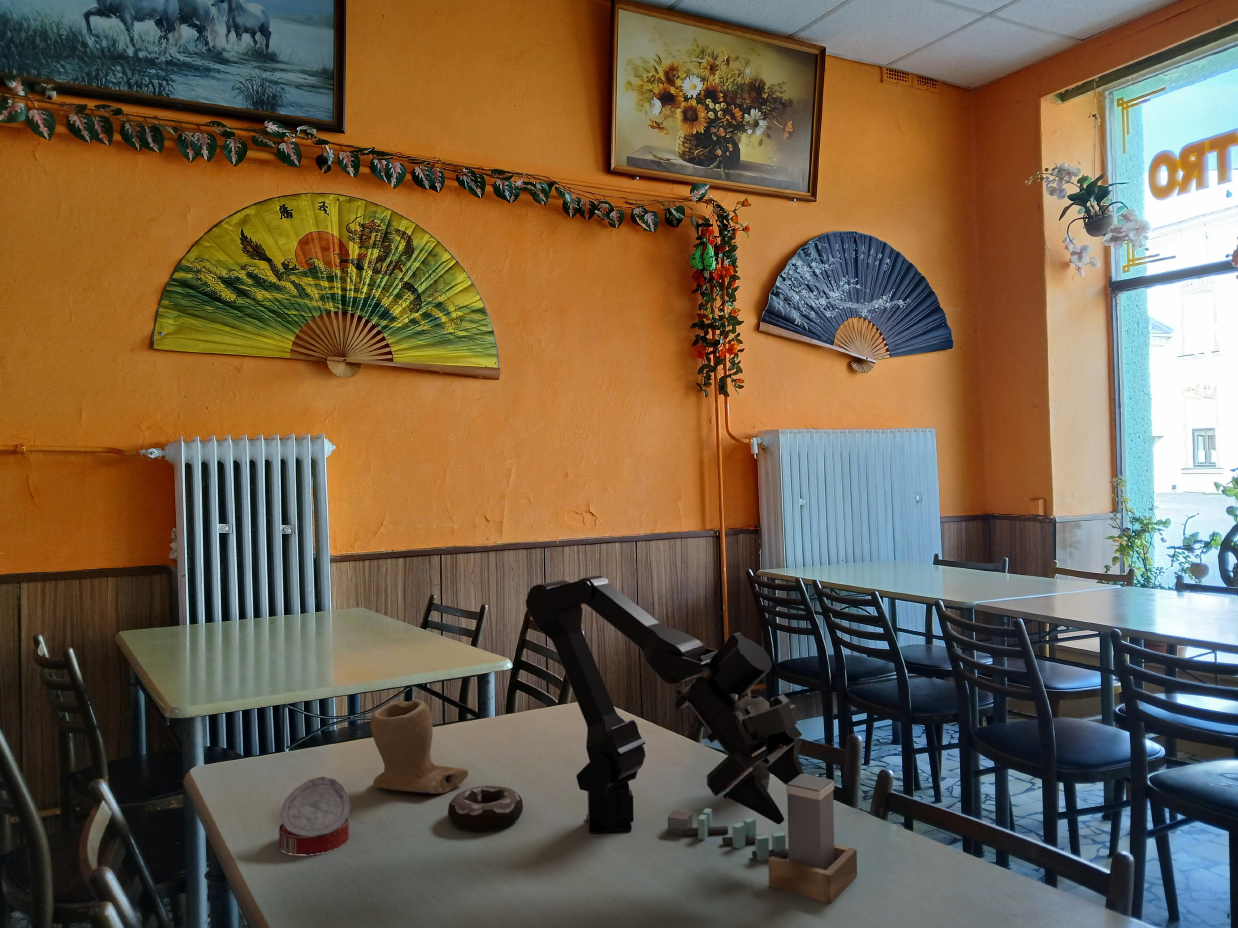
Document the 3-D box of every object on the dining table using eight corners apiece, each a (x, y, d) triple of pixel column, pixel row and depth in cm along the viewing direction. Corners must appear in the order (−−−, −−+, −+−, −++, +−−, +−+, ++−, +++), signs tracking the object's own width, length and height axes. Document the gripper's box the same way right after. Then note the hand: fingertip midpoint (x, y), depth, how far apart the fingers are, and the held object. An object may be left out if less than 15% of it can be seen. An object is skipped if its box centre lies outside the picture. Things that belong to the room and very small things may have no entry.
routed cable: (694, 863, 123) (694, 856, 123) (682, 833, 133) (682, 826, 133) (789, 857, 124) (789, 850, 124) (770, 828, 134) (770, 821, 134)
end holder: (769, 885, 116) (768, 858, 116) (797, 859, 123) (797, 834, 123) (831, 903, 111) (830, 875, 111) (857, 875, 118) (856, 849, 118)
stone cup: (356, 795, 151) (354, 707, 151) (400, 772, 162) (398, 690, 162) (430, 807, 145) (429, 715, 145) (470, 783, 156) (469, 697, 156)
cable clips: (770, 864, 122) (770, 842, 122) (689, 835, 132) (689, 815, 132) (793, 851, 126) (792, 830, 126) (712, 824, 136) (712, 804, 136)
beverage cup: (776, 796, 147) (773, 675, 147) (731, 794, 148) (729, 674, 149) (777, 780, 154) (775, 665, 154) (735, 778, 156) (732, 664, 156)
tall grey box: (787, 882, 117) (786, 783, 117) (802, 869, 121) (800, 773, 121) (821, 891, 114) (820, 790, 114) (835, 877, 118) (833, 779, 118)
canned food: (349, 863, 136) (377, 806, 135) (304, 885, 126) (335, 825, 126) (297, 819, 140) (324, 764, 139) (250, 838, 130) (279, 779, 130)
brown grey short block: (667, 832, 133) (667, 816, 133) (673, 825, 136) (673, 809, 136) (687, 835, 132) (686, 819, 132) (692, 827, 135) (692, 811, 135)
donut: (536, 812, 143) (536, 787, 143) (496, 840, 132) (496, 813, 132) (476, 801, 148) (475, 777, 148) (432, 828, 137) (432, 802, 137)
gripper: (726, 694, 114) (808, 799, 108) (788, 666, 129) (863, 756, 123) (674, 745, 119) (750, 848, 112) (740, 712, 134) (810, 801, 127)
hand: (796, 810), depth 119 cm, fingers open, 9 cm apart
